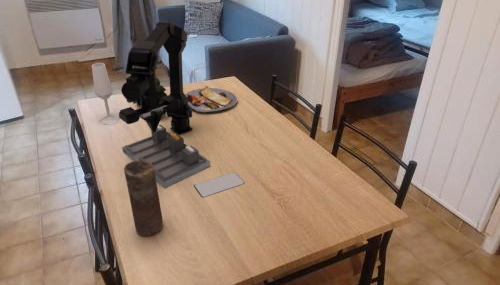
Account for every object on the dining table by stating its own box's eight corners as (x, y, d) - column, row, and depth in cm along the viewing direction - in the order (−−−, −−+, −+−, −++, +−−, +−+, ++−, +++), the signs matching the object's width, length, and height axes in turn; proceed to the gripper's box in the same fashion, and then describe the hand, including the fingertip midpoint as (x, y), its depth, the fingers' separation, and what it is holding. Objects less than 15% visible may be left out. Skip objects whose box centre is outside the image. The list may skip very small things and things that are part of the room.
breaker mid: (178, 144, 133) (177, 132, 130) (184, 149, 131) (183, 136, 128) (168, 148, 131) (167, 135, 128) (175, 153, 128) (173, 140, 125)
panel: (166, 135, 143) (165, 129, 141) (210, 166, 125) (209, 159, 124) (123, 151, 132) (121, 145, 131) (164, 188, 115) (163, 180, 113)
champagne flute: (117, 115, 156) (107, 61, 144) (118, 122, 151) (107, 66, 138) (101, 118, 154) (88, 63, 142) (101, 125, 149) (88, 68, 136)
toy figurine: (174, 120, 157) (148, 96, 172) (172, 80, 146) (144, 58, 162) (154, 126, 152) (129, 101, 167) (150, 85, 141) (123, 62, 156)
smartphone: (193, 185, 116) (235, 171, 123) (193, 186, 116) (235, 173, 123) (201, 197, 111) (245, 183, 117) (202, 199, 111) (245, 184, 118)
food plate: (173, 100, 170) (172, 93, 168) (212, 88, 184) (212, 81, 182) (205, 120, 155) (205, 113, 153) (246, 105, 169) (246, 98, 167)
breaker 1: (161, 135, 139) (160, 122, 136) (167, 139, 136) (165, 126, 134) (152, 138, 136) (150, 126, 134) (157, 142, 134) (156, 130, 131)
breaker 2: (192, 156, 126) (191, 144, 124) (199, 161, 124) (198, 148, 121) (182, 161, 124) (181, 148, 121) (189, 166, 121) (188, 153, 119)
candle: (138, 217, 103) (127, 158, 93) (164, 216, 104) (156, 157, 94) (133, 237, 97) (120, 176, 86) (161, 236, 97) (152, 175, 87)
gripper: (160, 73, 123) (165, 115, 131) (106, 87, 112) (115, 132, 120) (178, 83, 116) (182, 126, 124) (123, 99, 105) (132, 145, 114)
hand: (153, 132), depth 121 cm, fingers closed
